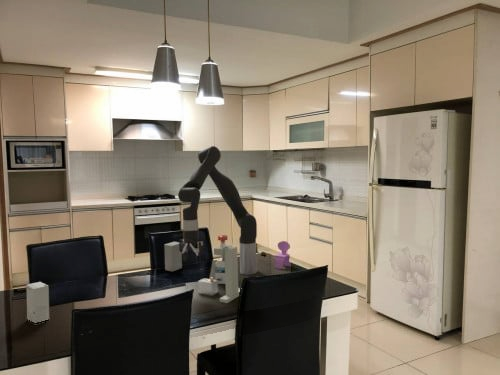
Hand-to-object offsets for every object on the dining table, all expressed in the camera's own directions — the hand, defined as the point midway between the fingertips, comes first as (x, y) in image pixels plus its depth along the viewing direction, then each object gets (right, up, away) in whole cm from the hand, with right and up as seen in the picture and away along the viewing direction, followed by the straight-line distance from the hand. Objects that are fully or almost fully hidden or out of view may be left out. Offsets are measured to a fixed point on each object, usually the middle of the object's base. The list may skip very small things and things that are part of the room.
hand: (192, 261), depth 191 cm
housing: (+8, -15, -3) cm, 17 cm away
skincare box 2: (-17, -13, +41) cm, 46 cm away
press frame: (+18, -14, -8) cm, 25 cm away
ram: (+16, -1, -8) cm, 18 cm away
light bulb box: (+15, -13, +15) cm, 25 cm away
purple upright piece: (+48, -11, +39) cm, 63 cm away
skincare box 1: (-58, -18, -31) cm, 68 cm away
